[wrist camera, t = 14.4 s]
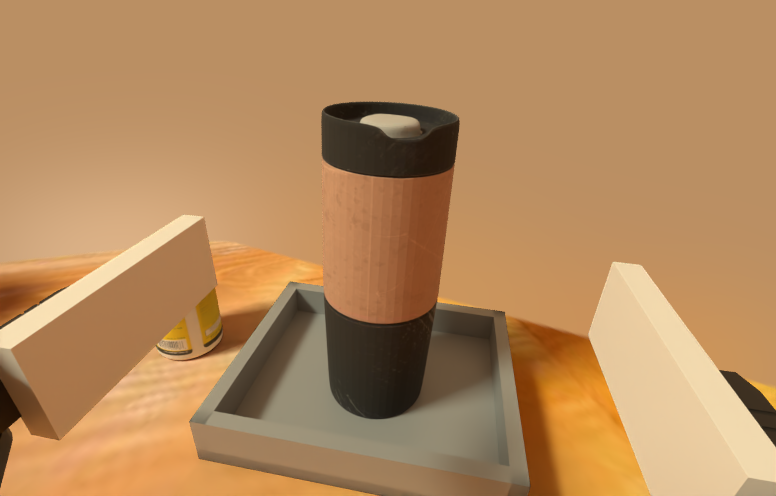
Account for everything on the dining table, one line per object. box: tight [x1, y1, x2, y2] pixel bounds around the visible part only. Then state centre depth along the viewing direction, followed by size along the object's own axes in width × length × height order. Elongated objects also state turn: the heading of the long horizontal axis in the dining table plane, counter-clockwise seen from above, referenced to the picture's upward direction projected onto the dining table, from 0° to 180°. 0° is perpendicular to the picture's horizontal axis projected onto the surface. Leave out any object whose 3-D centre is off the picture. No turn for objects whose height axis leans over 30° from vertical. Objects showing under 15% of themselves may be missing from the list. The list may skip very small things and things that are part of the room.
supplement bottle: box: [156, 288, 223, 360], centre depth 33 cm, size 5×5×10 cm
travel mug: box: [322, 102, 459, 419], centre depth 26 cm, size 8×8×20 cm
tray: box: [189, 282, 530, 496], centre depth 31 cm, size 20×16×4 cm
